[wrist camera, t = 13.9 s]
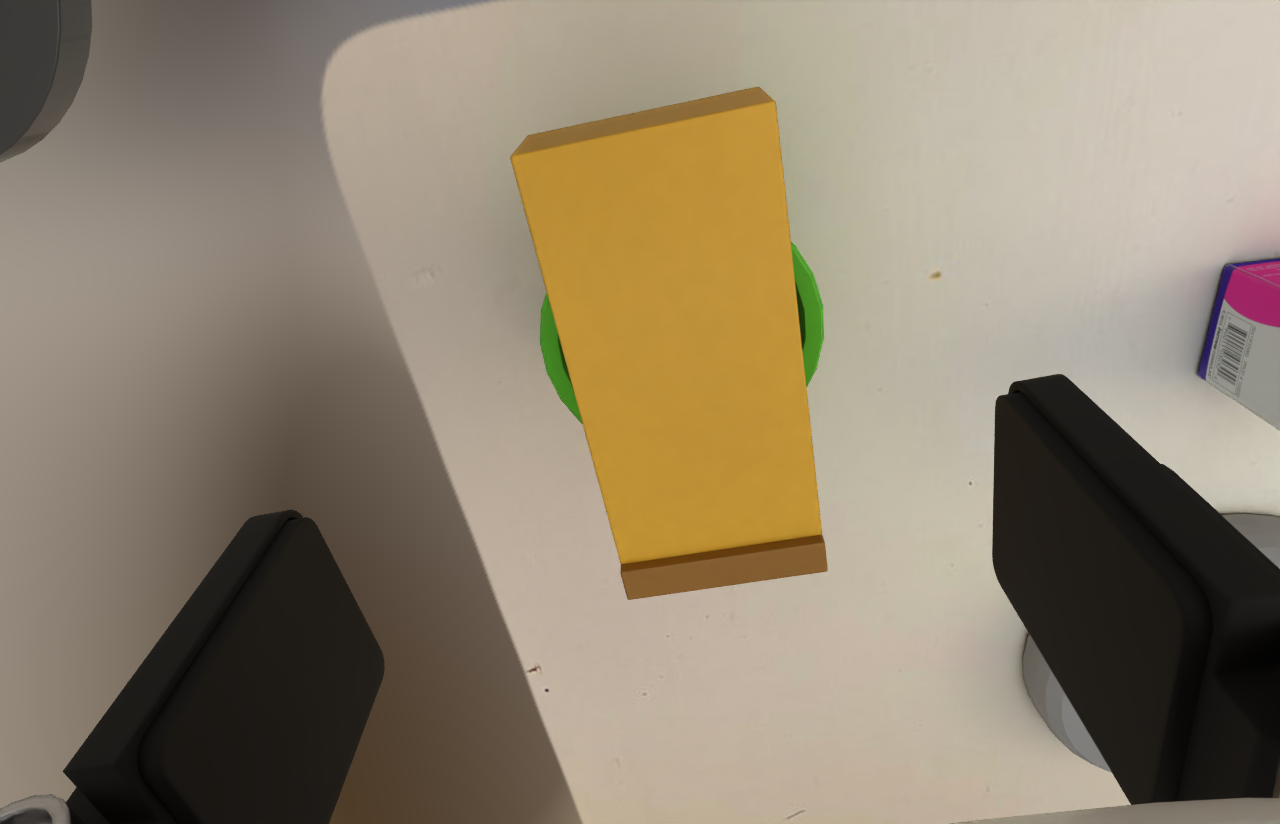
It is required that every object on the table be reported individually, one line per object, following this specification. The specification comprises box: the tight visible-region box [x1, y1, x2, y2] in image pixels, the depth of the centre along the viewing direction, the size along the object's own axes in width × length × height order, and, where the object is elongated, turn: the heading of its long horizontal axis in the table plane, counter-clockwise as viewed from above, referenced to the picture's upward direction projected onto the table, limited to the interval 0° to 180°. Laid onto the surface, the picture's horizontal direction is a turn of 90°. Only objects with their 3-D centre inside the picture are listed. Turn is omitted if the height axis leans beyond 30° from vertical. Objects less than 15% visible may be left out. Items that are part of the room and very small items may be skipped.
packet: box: [510, 87, 828, 600], centre depth 23 cm, size 14×6×3 cm, turn 11°
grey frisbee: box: [1023, 514, 1280, 772], centre depth 43 cm, size 18×18×5 cm
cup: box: [540, 242, 824, 424], centre depth 29 cm, size 9×9×11 cm
